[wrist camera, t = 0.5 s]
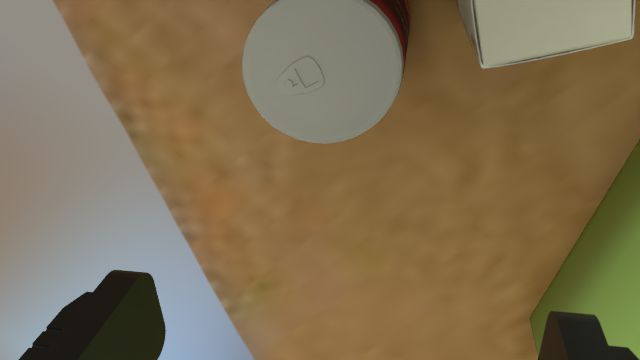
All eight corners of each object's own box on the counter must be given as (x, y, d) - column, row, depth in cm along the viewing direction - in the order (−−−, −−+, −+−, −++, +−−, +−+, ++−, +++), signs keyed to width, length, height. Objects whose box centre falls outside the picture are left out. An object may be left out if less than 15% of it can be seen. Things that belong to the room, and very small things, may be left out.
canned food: (268, 19, 36) (209, 66, 26) (355, -71, 32) (324, -54, 22) (344, 101, 37) (315, 173, 28) (435, 25, 34) (437, 78, 24)
